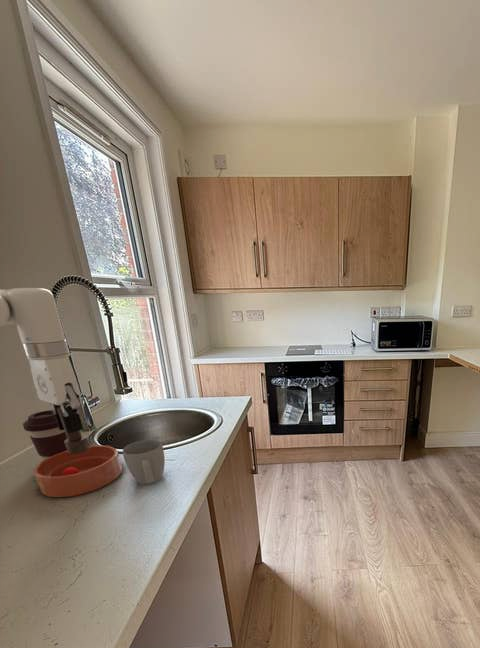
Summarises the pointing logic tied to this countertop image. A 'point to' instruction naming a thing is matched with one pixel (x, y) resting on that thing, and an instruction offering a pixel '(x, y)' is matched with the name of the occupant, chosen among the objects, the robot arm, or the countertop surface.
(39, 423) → the coffee cup
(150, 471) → the mug
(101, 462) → the bowl
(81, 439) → the pestle
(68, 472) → the tomato
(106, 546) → the countertop surface
